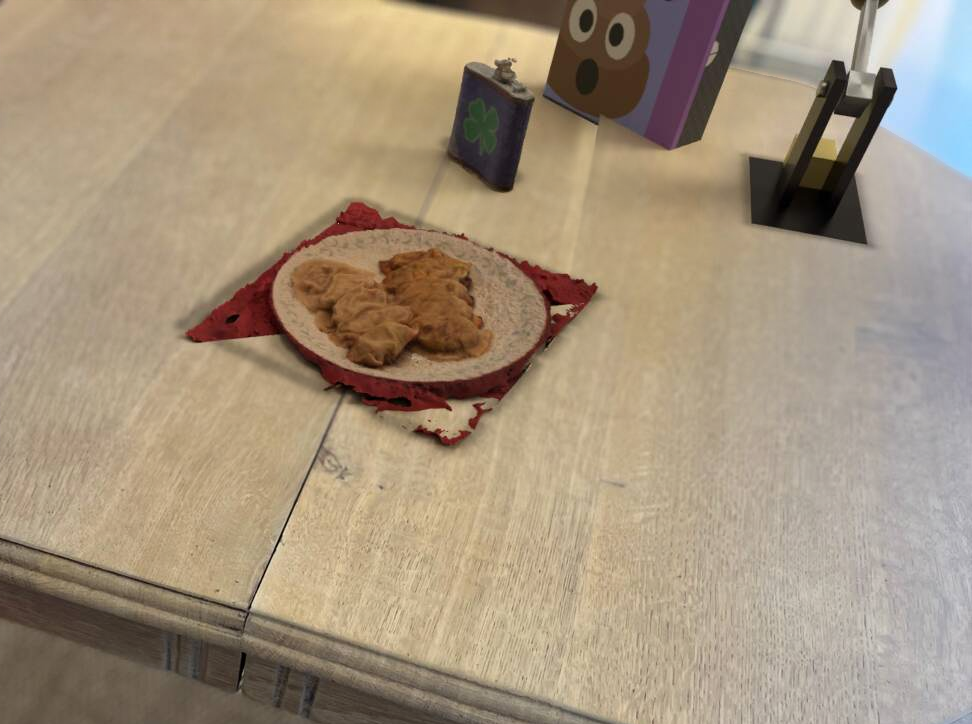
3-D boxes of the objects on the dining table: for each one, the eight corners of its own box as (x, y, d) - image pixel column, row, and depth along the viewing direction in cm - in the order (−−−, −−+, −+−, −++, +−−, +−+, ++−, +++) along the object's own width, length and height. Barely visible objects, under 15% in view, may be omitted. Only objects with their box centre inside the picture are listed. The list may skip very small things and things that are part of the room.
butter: (782, 162, 105) (796, 133, 103) (820, 169, 104) (834, 140, 102) (784, 183, 102) (798, 153, 100) (823, 190, 101) (838, 160, 99)
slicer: (744, 167, 106) (800, 35, 97) (849, 186, 105) (916, 52, 95) (746, 234, 97) (808, 95, 88) (861, 256, 95) (936, 116, 86)
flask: (441, 153, 106) (463, 42, 98) (464, 148, 107) (488, 38, 99) (498, 195, 101) (526, 81, 93) (522, 189, 102) (552, 76, 94)
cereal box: (542, 96, 116) (609, -161, 99) (572, 87, 118) (643, -167, 101) (666, 161, 107) (764, -110, 89) (696, 150, 109) (799, -118, 91)
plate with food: (593, 306, 89) (606, 269, 86) (453, 458, 74) (463, 419, 71) (352, 216, 98) (357, 180, 95) (184, 335, 83) (184, 297, 80)
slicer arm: (845, -13, 99) (863, -46, 95) (886, -7, 98) (906, -40, 94) (821, 117, 94) (840, 88, 91) (864, 124, 94) (884, 95, 90)
